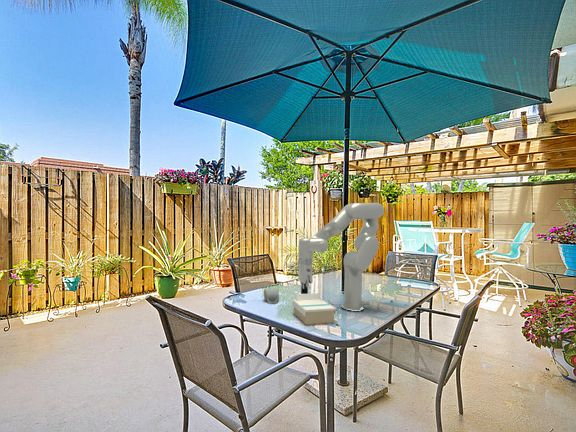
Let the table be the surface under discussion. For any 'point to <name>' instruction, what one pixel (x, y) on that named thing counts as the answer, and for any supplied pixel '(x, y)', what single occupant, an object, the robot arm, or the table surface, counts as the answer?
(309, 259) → the robot arm
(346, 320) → the table surface
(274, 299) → the ceramic mug
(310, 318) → the mailer box
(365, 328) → the table surface
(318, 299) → the lid
